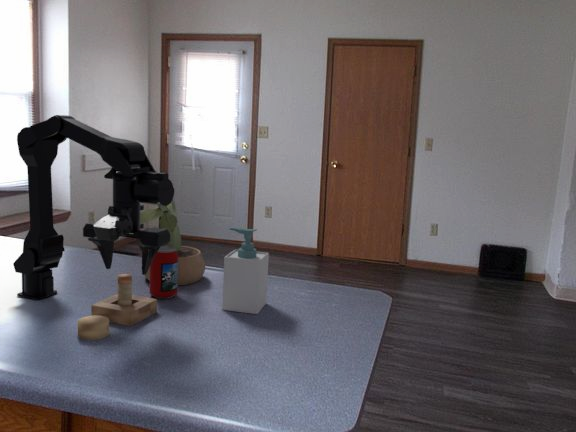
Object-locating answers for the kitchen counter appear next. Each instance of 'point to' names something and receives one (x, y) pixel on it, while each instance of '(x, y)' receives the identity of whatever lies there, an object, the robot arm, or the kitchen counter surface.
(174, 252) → the beverage can
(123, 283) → the wooden dowel
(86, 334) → the tan rounded disc
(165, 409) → the kitchen counter surface
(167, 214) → the potted plant
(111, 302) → the square wooden frame
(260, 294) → the soap bottle
